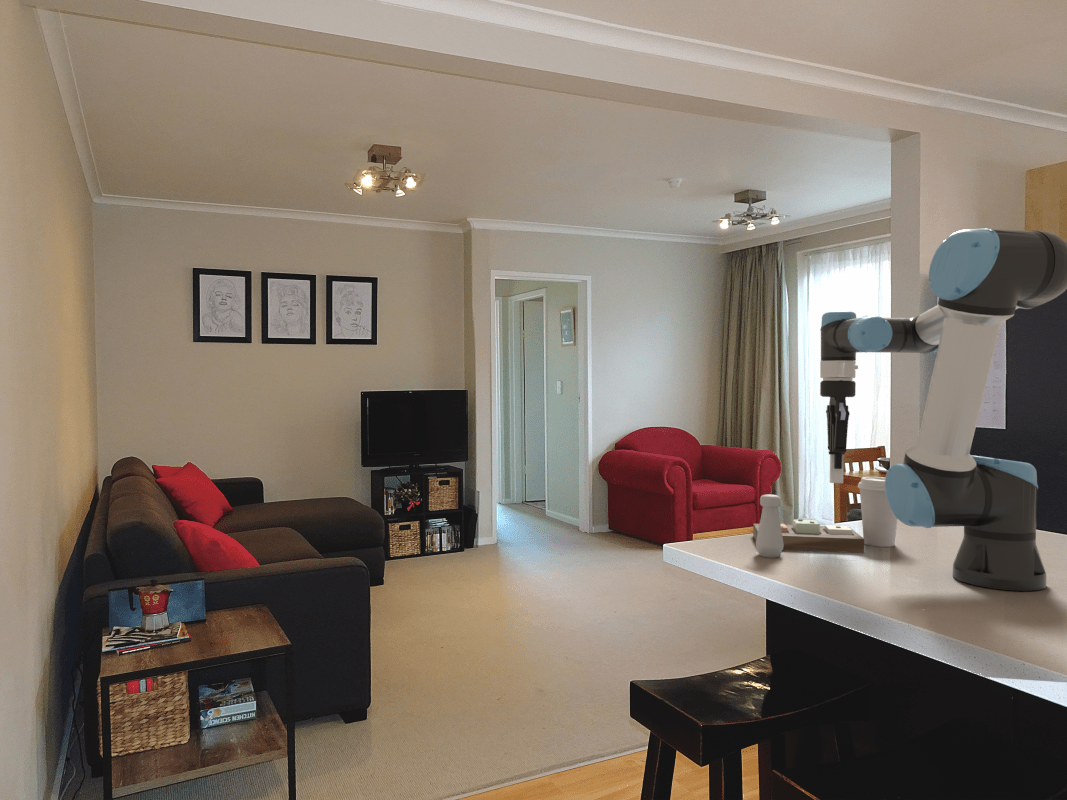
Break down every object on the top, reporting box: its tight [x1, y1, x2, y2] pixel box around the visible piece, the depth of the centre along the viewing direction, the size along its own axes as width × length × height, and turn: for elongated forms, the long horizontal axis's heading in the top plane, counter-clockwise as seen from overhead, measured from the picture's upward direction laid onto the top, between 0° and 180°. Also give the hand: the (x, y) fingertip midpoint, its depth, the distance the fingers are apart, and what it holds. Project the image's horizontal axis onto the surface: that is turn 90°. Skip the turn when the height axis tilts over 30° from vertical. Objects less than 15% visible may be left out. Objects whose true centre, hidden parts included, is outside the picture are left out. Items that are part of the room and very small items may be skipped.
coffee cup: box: [857, 476, 898, 548], centre depth 180 cm, size 10×10×15 cm
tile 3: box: [780, 523, 787, 533], centre depth 181 cm, size 5×5×3 cm
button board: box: [752, 523, 865, 553], centre depth 180 cm, size 14×22×3 cm, turn 80°
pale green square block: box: [792, 519, 821, 534], centre depth 180 cm, size 5×5×3 cm
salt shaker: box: [755, 493, 784, 559], centre depth 168 cm, size 6×6×13 cm
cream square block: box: [824, 524, 853, 535], centre depth 179 cm, size 5×5×3 cm
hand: (836, 482), depth 180 cm, fingers closed
